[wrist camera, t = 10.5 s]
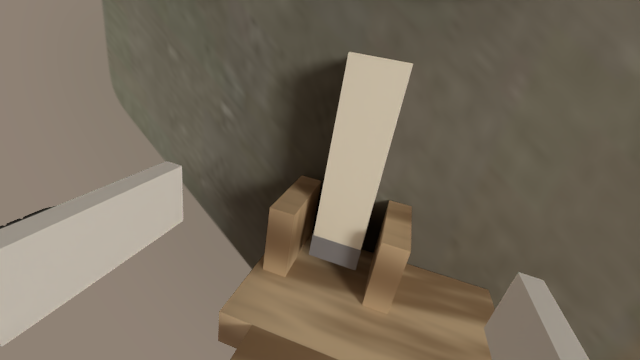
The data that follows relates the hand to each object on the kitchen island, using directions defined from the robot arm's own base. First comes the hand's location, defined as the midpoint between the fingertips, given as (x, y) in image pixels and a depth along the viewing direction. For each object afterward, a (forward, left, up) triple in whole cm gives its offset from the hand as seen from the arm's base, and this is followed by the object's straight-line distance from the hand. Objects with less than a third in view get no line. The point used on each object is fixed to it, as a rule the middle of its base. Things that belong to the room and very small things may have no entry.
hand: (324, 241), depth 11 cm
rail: (+1, -1, -15) cm, 15 cm away
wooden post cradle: (+9, +3, -15) cm, 18 cm away
